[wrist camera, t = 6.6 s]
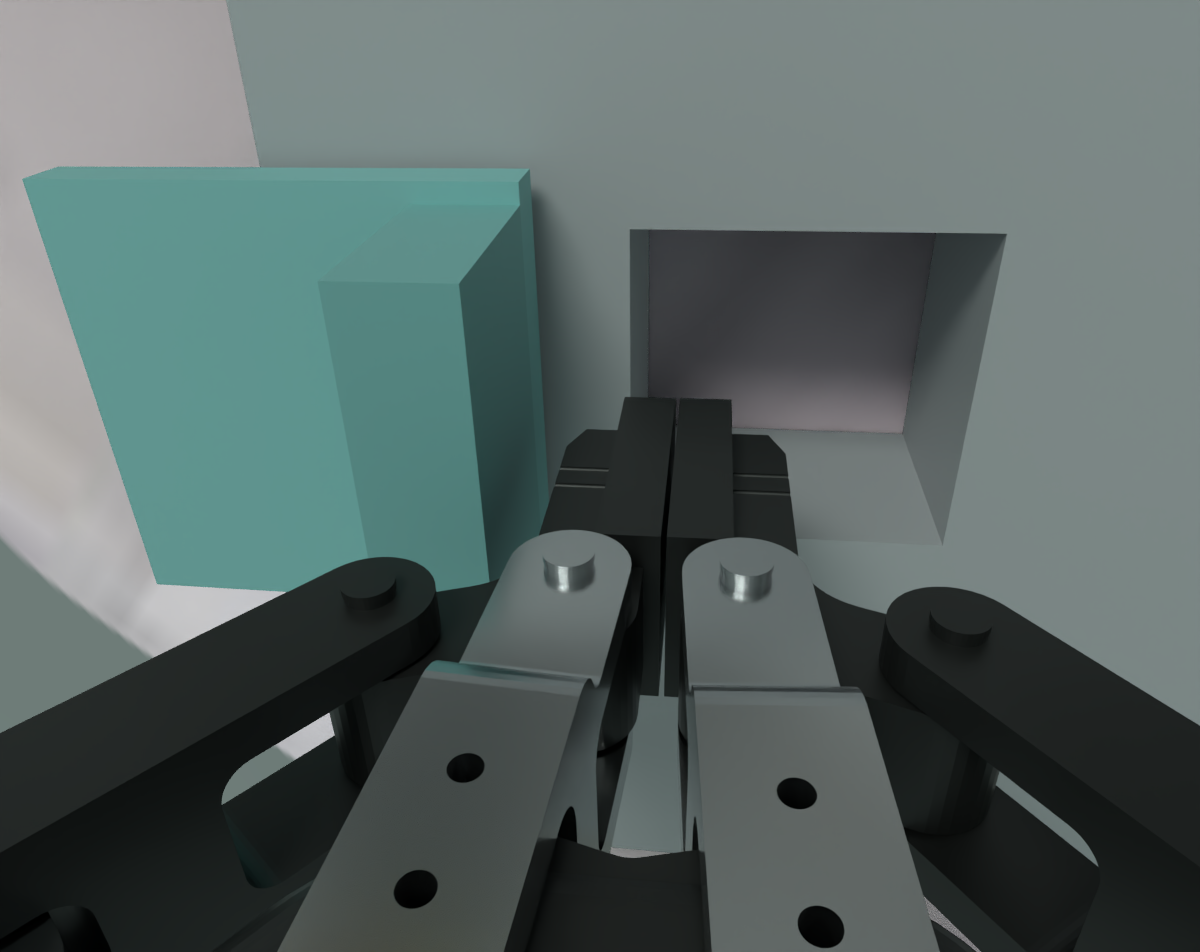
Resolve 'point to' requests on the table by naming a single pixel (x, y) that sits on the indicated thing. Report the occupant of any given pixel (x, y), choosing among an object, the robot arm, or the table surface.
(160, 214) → the shutter
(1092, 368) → the socket plate
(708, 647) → the robot arm
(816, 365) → the table surface
